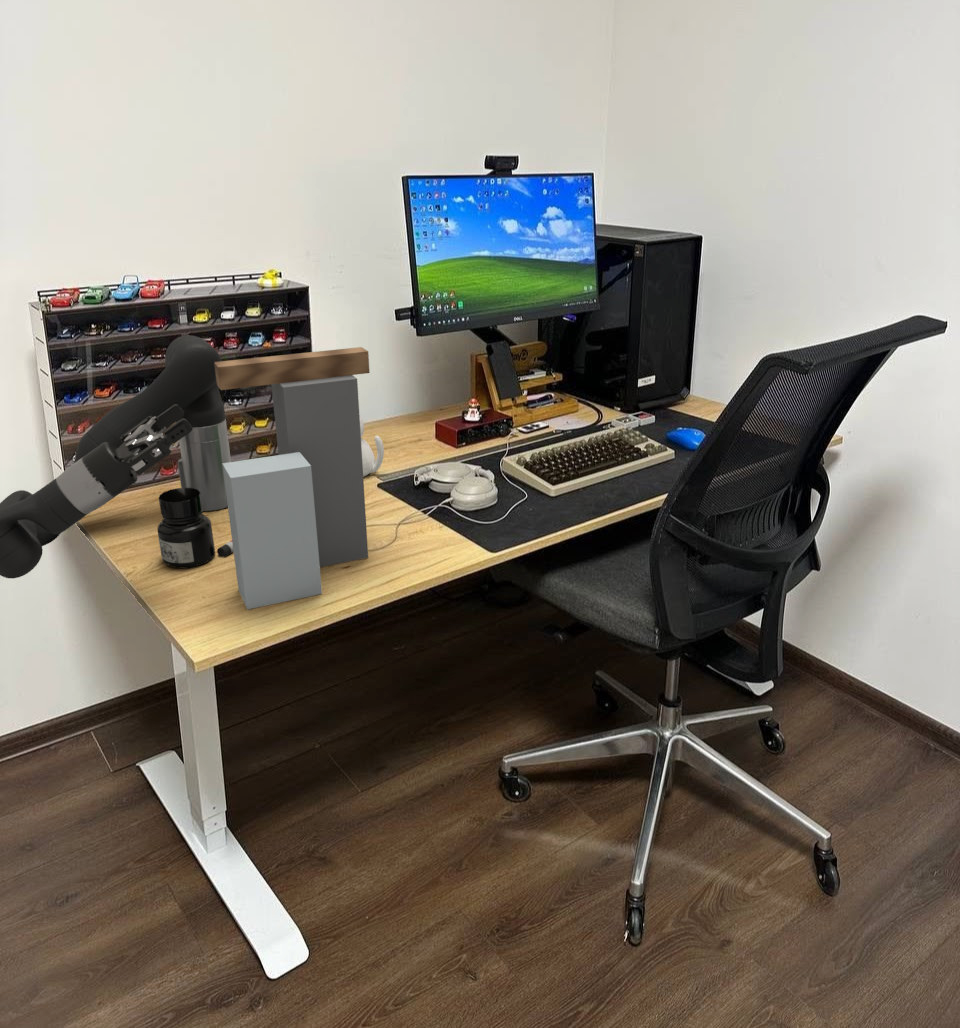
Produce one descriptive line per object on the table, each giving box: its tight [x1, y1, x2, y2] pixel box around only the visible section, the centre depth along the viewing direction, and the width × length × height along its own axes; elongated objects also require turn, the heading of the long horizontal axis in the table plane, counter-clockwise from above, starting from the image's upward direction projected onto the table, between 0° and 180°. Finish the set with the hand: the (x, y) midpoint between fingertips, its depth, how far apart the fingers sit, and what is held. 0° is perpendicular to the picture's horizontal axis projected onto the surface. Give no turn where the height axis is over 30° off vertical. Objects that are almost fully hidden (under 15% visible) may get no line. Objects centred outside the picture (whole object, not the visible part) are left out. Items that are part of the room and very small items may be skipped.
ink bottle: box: [157, 487, 216, 569], centre depth 153 cm, size 10×9×12 cm
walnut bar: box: [214, 346, 370, 391], centre depth 142 cm, size 24×4×4 cm, turn 115°
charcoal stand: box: [270, 375, 369, 568], centre depth 151 cm, size 12×9×32 cm
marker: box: [216, 540, 234, 558], centre depth 162 cm, size 15×2×2 cm, turn 154°
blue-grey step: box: [222, 452, 323, 610], centre depth 140 cm, size 12×7×22 cm, turn 115°
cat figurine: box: [359, 414, 385, 478], centre depth 191 cm, size 9×12×15 cm
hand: (184, 416), depth 138 cm, fingers open, 8 cm apart
